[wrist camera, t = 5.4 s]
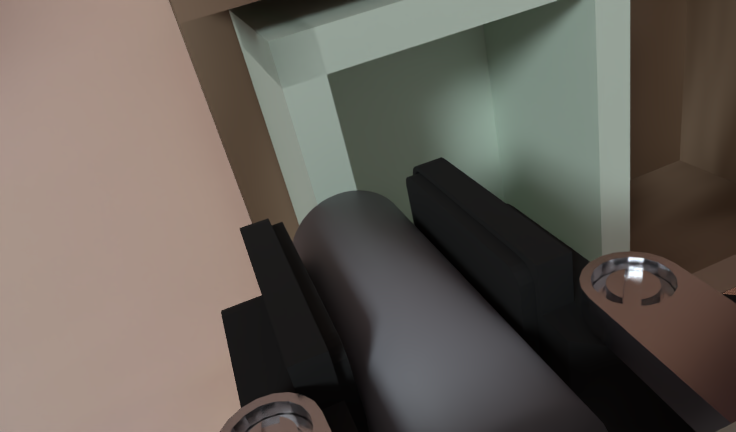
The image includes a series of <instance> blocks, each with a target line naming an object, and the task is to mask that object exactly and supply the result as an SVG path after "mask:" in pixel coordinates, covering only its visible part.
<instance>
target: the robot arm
mask: <svg viewBox="0 0 736 432" xmlns="http://www.w3.org/2000/svg"><path fill="white" fill-rule="evenodd" d="M406 187H407V192H408V197H409V202H410V207H411V212H412V217H413V222H414V225H415V226H416V227H417V228H418V229H419V230H420V231H421V232H422V233H423V234H424V236H425V237H426V238H427V239H428V240H429V241H430V242H431V243H432V244H433V245H434V246H435V247H436V248H437V249H438V250H439V251H440V252H441V253H442V254H443V255H444V257H445V258H446V259H447V260H448V261H449V262H450V263H451V264H452V265H453V266H454V267H455V268H456V269H457V270H458V271H459V272H460V273H461V274H462V275H463V276H464V278H465V279H466V280H467V281H468V282H469V283H470V284H471V285H472V286H473V287H474V288H475V289H476V290H477V291H478V292H479V293H480V294H481V295H482V296H483V297H484V299H485V300H486V301H487V302H488V303H489V304H490V305H491V306H492V307H493V308H494V309H495V310H496V311H497V312H498V313H499V314H500V315H501V316H502V317H503V319H504V320H505V321H506V322H507V323H508V324H509V325H510V326H511V327H512V328H513V329H514V330H515V331H516V332H517V333H518V334H519V335H520V336H521V337H522V338H523V340H524V341H525V342H526V343H527V344H528V345H529V346H530V347H531V348H532V349H533V350H534V351H535V352H536V353H537V354H538V355H539V356H540V357H541V358H542V359H543V361H544V362H545V363H546V364H547V365H548V366H549V367H550V368H551V369H552V370H553V371H554V372H555V373H556V374H557V375H558V376H559V377H560V378H561V379H562V380H563V382H564V383H565V384H566V385H567V386H568V387H569V388H570V389H571V390H572V391H573V392H574V393H575V394H576V395H577V396H578V397H579V398H580V399H581V400H582V402H583V403H584V404H585V405H586V406H587V407H588V408H589V409H590V410H591V411H592V412H593V413H594V414H595V415H596V416H597V417H598V418H599V419H600V420H601V422H602V423H603V424H604V426H605V427H606V429H607V431H608V432H736V295H727V294H721V293H720V292H718V291H717V290H715V289H714V288H712V287H711V286H709V285H708V284H706V283H704V282H703V281H701V280H700V279H698V278H697V277H695V276H694V275H692V274H691V273H689V272H688V271H686V270H685V269H683V268H682V267H680V266H679V265H677V264H676V263H674V262H672V261H670V260H668V259H666V258H664V257H661V256H657V255H654V254H650V253H644V252H634V251H628V252H615V253H611V254H607V255H603V256H600V257H598V258H596V259H594V260H593V261H591V262H590V261H589V260H587V259H586V258H584V257H583V256H582V255H580V254H579V253H577V252H576V251H575V250H573V249H572V248H571V247H569V246H568V245H566V244H565V243H564V242H562V241H561V240H559V239H558V238H557V237H555V236H554V235H553V234H551V233H550V232H548V231H547V230H546V229H544V228H543V227H541V226H540V225H539V224H537V223H536V222H534V221H533V220H532V219H530V218H529V217H528V216H526V215H525V214H523V213H522V212H521V211H519V210H518V209H516V208H515V207H514V206H512V205H510V204H508V203H507V204H506V203H505V202H503V201H502V200H501V199H499V198H498V197H497V196H495V195H494V194H492V193H491V192H490V191H488V190H487V189H486V188H484V187H483V186H481V185H480V184H479V183H477V182H476V181H475V180H473V179H472V178H470V177H469V176H468V175H466V174H465V173H464V172H462V171H461V170H459V169H458V168H457V167H455V166H454V165H453V164H451V163H450V162H448V161H447V160H446V159H444V158H442V157H440V158H438V159H435V160H432V161H429V162H426V163H423V164H421V165H418V166H415V167H414V168H413V175H412V176H409V177H407V178H406ZM240 231H241V234H242V237H243V240H244V243H245V246H246V249H247V252H248V255H249V258H250V261H251V264H252V267H253V270H254V273H255V276H256V279H257V282H258V285H259V288H260V290H261V293H262V295H261V296H259V297H256V298H254V299H251V300H248V301H246V302H243V303H240V304H238V305H235V306H232V307H230V308H227V309H225V310H222V311H221V314H222V319H223V324H224V329H225V334H226V338H227V343H228V348H229V353H230V357H231V362H232V367H233V372H234V376H235V381H236V386H237V391H238V395H239V400H240V405H241V409H239V410H238V411H237V412H236V413H235V414H234V415H233V416H232V417H231V418H229V419H228V421H227V422H226V423H225V425H224V426H223V428H222V429H221V430H220V432H369V430H368V426H367V419H366V416H365V413H364V409H363V406H362V403H361V400H360V396H359V393H358V390H357V387H356V383H355V380H354V377H353V373H352V370H351V367H350V364H349V361H348V358H347V355H346V352H345V349H344V347H343V344H342V342H341V339H340V337H339V335H338V333H337V331H336V329H335V326H334V324H333V322H332V320H331V318H330V316H329V314H328V312H327V310H326V308H325V306H324V304H323V302H322V300H321V298H320V296H319V294H318V292H317V290H316V288H315V286H314V284H313V282H312V280H311V278H310V276H309V274H308V272H307V270H306V268H305V266H304V264H303V262H302V260H301V258H300V256H299V254H298V252H297V250H296V248H295V246H294V244H293V242H292V240H291V238H290V236H289V234H288V232H287V230H286V228H285V226H284V224H283V222H280V223H277V224H274V225H271V223H270V221H269V219H268V218H267V219H265V220H262V221H259V222H256V223H253V224H250V225H248V226H245V227H242V228H240Z"/></svg>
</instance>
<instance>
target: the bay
mask: <svg viewBox="0 0 736 432" xmlns="http://www.w3.org/2000/svg"><path fill="white" fill-rule="evenodd" d="M256 1H260V0H169V2H170V5H171V7H172V10H173V13H174V15H175V18H176V21H177V23H178V26H179V29H180V31H181V34H182V37H183V39H184V42H185V45H186V47H187V50H188V53H189V55H190V58H191V61H192V63H193V66H194V69H195V71H196V74H197V77H198V79H199V82H200V85H201V87H202V90H203V93H204V95H205V98H206V101H207V103H208V106H209V109H210V112H211V114H212V117H213V120H214V122H215V125H216V128H217V130H218V133H219V136H220V138H221V141H222V144H223V146H224V149H225V152H226V154H227V157H228V160H229V162H230V165H231V168H232V170H233V173H234V176H235V178H236V181H237V184H238V186H239V189H240V192H241V194H242V197H243V200H244V202H245V205H246V208H247V210H248V213H249V216H250V219H251V221H252V224H253V223H256V222H259V221H262V220H265V219H267V218H268V219H269V221H270V223H271V225H274V224H277V223H280V222H283V224H284V226H285V228H286V230H287V232H288V234H289V236H290V238H291V240H292V242H293V239H294V236H295V233H296V231H297V229H298V227H299V223H298V220H297V217H296V214H295V211H294V208H293V205H292V202H291V199H290V196H289V193H288V190H287V187H286V184H285V181H284V177H283V174H282V171H281V168H280V165H279V162H278V159H277V156H276V153H275V150H274V147H273V144H272V141H271V138H270V135H269V132H268V129H267V126H266V123H265V120H264V116H263V113H262V110H261V107H260V104H259V101H258V98H257V95H256V92H255V89H254V86H253V83H252V80H251V77H250V74H249V71H248V68H247V65H246V62H245V59H244V55H243V52H242V49H241V46H240V43H239V40H238V37H237V34H236V31H235V28H234V25H233V22H232V19H231V16H230V13H229V9H232V8H236V7H239V6H242V5H246V4H249V3H253V2H256ZM630 251H634V252H644V253H650V254H654V255H657V256H661V257H664V258H666V259H668V260H670V261H672V262H674V263H676V264H677V265H679V266H680V267H682V268H683V269H685V270H686V271H688V272H689V273H691V274H692V275H694V276H695V277H697V278H698V279H700V280H701V281H703V282H704V283H706V284H708V285H709V286H711V287H712V288H714V289H715V290H717V291H718V292H720V293H721V294H722V293H724V292H726V291H728V290H730V289H732V288H734V287H736V0H630Z"/></svg>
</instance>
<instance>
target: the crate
mask: <svg viewBox="0 0 736 432" xmlns="http://www.w3.org/2000/svg"><path fill="white" fill-rule="evenodd" d="M229 13H230V16H231V19H232V22H233V25H234V28H235V31H236V34H237V37H238V40H239V43H240V46H241V49H242V52H243V55H244V59H245V62H246V65H247V68H248V71H249V74H250V77H251V80H252V83H253V86H254V89H255V92H256V95H257V98H258V101H259V104H260V107H261V110H262V113H263V116H264V120H265V123H266V126H267V129H268V132H269V135H270V138H271V141H272V144H273V147H274V150H275V153H276V156H277V159H278V162H279V165H280V168H281V171H282V174H283V177H284V181H285V184H286V187H287V190H288V193H289V196H290V199H291V202H292V205H293V208H294V211H295V214H296V217H297V220H298V223H299V227H298V229H297V231H296V233H295V236H294V239H293V244H294V246H295V248H296V250H297V252H298V254H299V256H300V258H301V260H302V262H303V264H304V266H305V268H306V270H307V272H308V274H309V276H310V278H311V280H312V282H313V284H314V286H315V288H316V290H317V292H318V294H319V296H320V298H321V300H322V302H323V304H324V306H325V308H326V310H327V312H328V314H329V316H330V318H331V320H332V322H333V324H334V326H335V329H336V331H337V333H338V335H339V337H340V339H341V342H342V344H343V347H344V349H345V352H346V355H347V358H348V361H349V364H350V367H351V370H352V373H353V377H354V380H355V383H356V387H357V390H358V393H359V396H360V400H361V403H362V406H363V409H364V413H365V416H366V419H367V426H368V430H369V432H608V431H607V429H606V427H605V426H604V424H603V423H602V422H601V420H600V419H599V418H598V417H597V416H596V415H595V414H594V413H593V412H592V411H591V410H590V409H589V408H588V407H587V406H586V405H585V404H584V403H583V402H582V400H581V399H580V398H579V397H578V396H577V395H576V394H575V393H574V392H573V391H572V390H571V389H570V388H569V387H568V386H567V385H566V384H565V383H564V382H563V380H562V379H561V378H560V377H559V376H558V375H557V374H556V373H555V372H554V371H553V370H552V369H551V368H550V367H549V366H548V365H547V364H546V363H545V362H544V361H543V359H542V358H541V357H540V356H539V355H538V354H537V353H536V352H535V351H534V350H533V349H532V348H531V347H530V346H529V345H528V344H527V343H526V342H525V341H524V340H523V338H522V337H521V336H520V335H519V334H518V333H517V332H516V331H515V330H514V329H513V328H512V327H511V326H510V325H509V324H508V323H507V322H506V321H505V320H504V319H503V317H502V316H501V315H500V314H499V313H498V312H497V311H496V310H495V309H494V308H493V307H492V306H491V305H490V304H489V303H488V302H487V301H486V300H485V299H484V297H483V296H482V295H481V294H480V293H479V292H478V291H477V290H476V289H475V288H474V287H473V286H472V285H471V284H470V283H469V282H468V281H467V280H466V279H465V278H464V276H463V275H462V274H461V273H460V272H459V271H458V270H457V269H456V268H455V267H454V266H453V265H452V264H451V263H450V262H449V261H448V260H447V259H446V258H445V257H444V255H443V254H442V253H441V252H440V251H439V250H438V249H437V248H436V247H435V246H434V245H433V244H432V243H431V242H430V241H429V240H428V239H427V238H426V237H425V236H424V234H423V233H422V232H421V231H420V230H419V229H418V228H417V227H416V226H415V225H414V222H413V217H412V212H411V207H410V202H409V197H408V192H407V187H406V178H407V177H409V176H412V175H413V168H414V167H415V166H418V165H421V164H423V163H426V162H429V161H432V160H435V159H438V158H440V157H442V158H444V159H446V160H447V161H448V162H450V163H451V164H453V165H454V166H455V167H457V168H458V169H459V170H461V171H462V172H464V173H465V174H466V175H468V176H469V177H470V178H472V179H473V180H475V181H476V182H477V183H479V184H480V185H481V186H483V187H484V188H486V189H487V190H488V191H490V192H491V193H492V194H494V195H495V196H497V197H498V198H499V199H501V200H502V201H503V202H505V203H506V204H507V203H508V204H510V205H512V206H514V207H515V208H516V209H518V210H519V211H521V212H522V213H523V214H525V215H526V216H528V217H529V218H530V219H532V220H533V221H534V222H536V223H537V224H539V225H540V226H541V227H543V228H544V229H546V230H547V231H548V232H550V233H551V234H553V235H554V236H555V237H557V238H558V239H559V240H561V241H562V242H564V243H565V244H566V245H568V246H569V247H571V248H572V249H573V250H575V251H576V252H577V253H579V254H580V255H582V256H583V257H584V258H586V259H587V260H589V261H590V262H591V261H593V260H594V259H596V258H598V257H600V256H603V255H607V254H611V253H615V252H628V251H630V0H260V1H256V2H253V3H249V4H246V5H242V6H239V7H236V8H232V9H229Z"/></svg>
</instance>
